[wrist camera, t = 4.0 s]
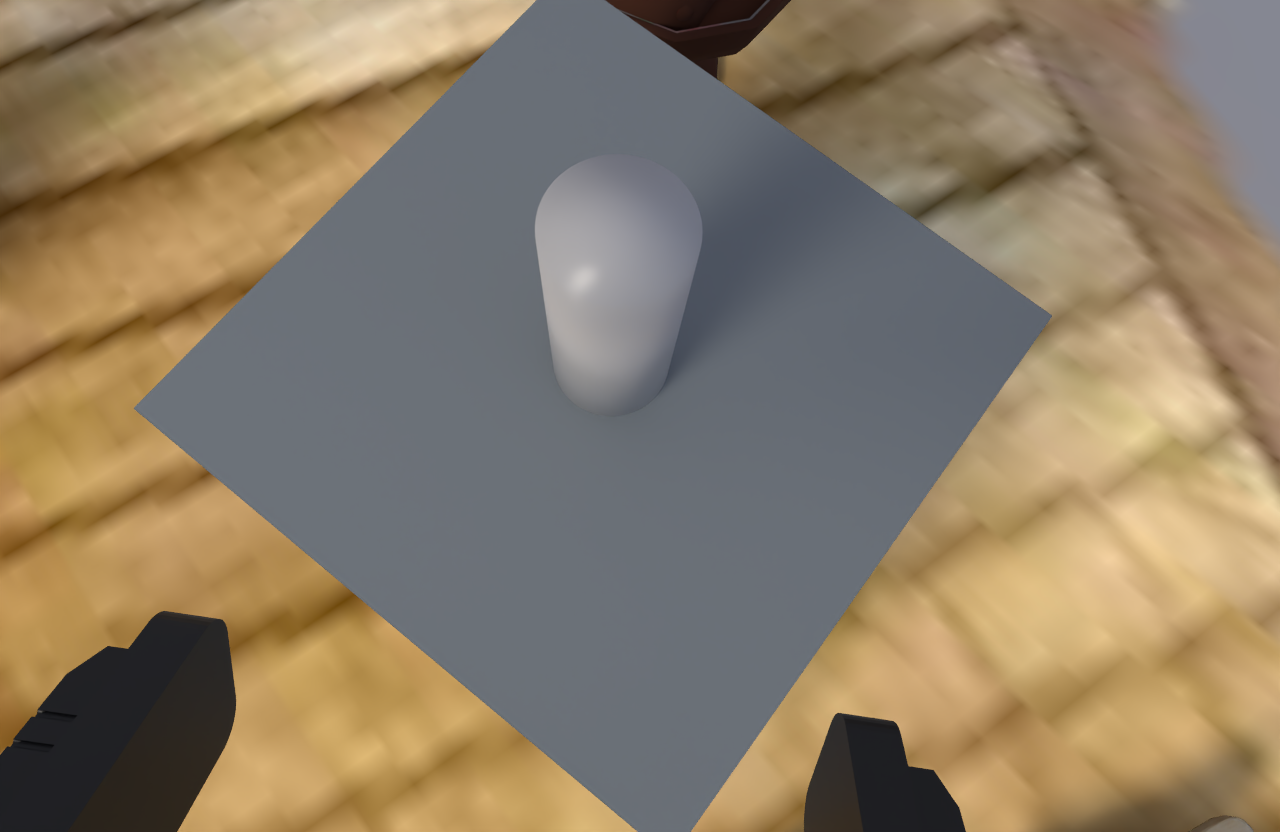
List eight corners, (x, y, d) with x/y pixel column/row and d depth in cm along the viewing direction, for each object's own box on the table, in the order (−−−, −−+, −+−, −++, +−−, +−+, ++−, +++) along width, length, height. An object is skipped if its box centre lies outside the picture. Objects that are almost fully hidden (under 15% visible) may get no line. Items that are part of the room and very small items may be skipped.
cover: (322, 509, 41) (-85, 292, 16) (575, 225, 45) (553, -287, 20) (637, 770, 39) (713, 971, 14) (872, 448, 43) (1246, 172, 18)
